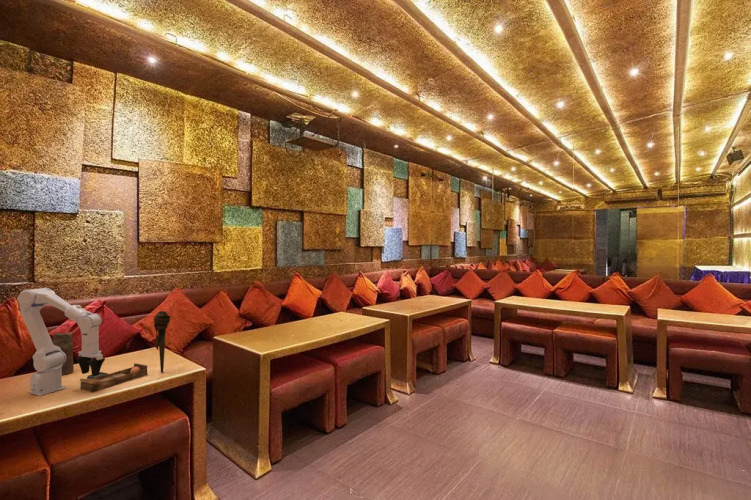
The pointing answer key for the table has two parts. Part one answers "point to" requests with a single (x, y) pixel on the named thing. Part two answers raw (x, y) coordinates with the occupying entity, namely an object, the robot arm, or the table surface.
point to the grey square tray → (97, 375)
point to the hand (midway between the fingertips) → (90, 374)
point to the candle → (65, 350)
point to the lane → (112, 378)
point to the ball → (135, 369)
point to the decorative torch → (161, 334)
